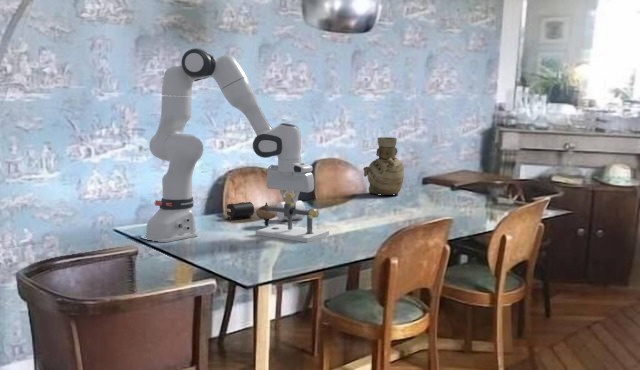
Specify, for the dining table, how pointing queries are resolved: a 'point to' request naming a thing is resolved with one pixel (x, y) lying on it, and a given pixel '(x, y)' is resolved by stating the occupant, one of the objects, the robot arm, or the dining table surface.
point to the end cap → (240, 210)
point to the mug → (282, 218)
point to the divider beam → (310, 214)
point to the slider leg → (288, 206)
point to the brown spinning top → (265, 214)
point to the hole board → (292, 233)
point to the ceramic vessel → (385, 169)
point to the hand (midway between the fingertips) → (289, 202)
